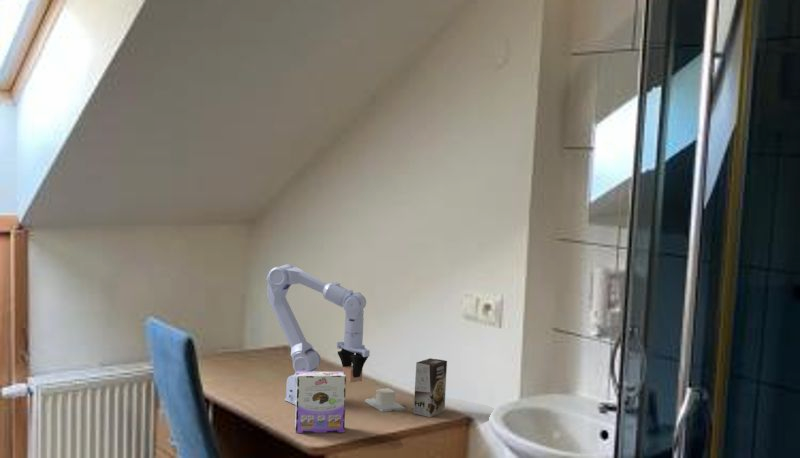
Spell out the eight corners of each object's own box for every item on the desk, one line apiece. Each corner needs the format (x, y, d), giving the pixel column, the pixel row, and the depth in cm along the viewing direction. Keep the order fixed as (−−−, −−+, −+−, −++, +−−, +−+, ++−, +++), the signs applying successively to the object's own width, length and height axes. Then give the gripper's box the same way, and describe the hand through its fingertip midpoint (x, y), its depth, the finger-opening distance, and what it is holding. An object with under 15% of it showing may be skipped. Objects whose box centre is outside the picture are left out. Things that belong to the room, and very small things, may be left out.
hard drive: (365, 398, 272) (381, 408, 261) (388, 396, 276) (405, 406, 265) (364, 403, 272) (381, 414, 261) (387, 401, 276) (405, 411, 265)
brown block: (350, 382, 262) (350, 369, 262) (341, 379, 266) (342, 366, 265) (362, 380, 265) (362, 368, 265) (353, 377, 269) (353, 365, 268)
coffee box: (430, 417, 257) (433, 365, 256) (412, 413, 261) (415, 362, 260) (445, 411, 265) (448, 360, 264) (427, 407, 268) (430, 357, 267)
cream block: (381, 405, 265) (382, 393, 265) (375, 401, 269) (376, 389, 269) (394, 404, 267) (395, 391, 267) (388, 400, 271) (388, 388, 271)
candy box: (342, 426, 244) (344, 370, 243) (344, 433, 238) (346, 375, 237) (294, 427, 242) (296, 370, 241) (295, 433, 236) (297, 375, 235)
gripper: (378, 335, 261) (376, 378, 262) (350, 327, 272) (348, 368, 273) (359, 337, 257) (357, 381, 258) (332, 329, 268) (330, 371, 269)
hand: (351, 375), depth 265 cm, fingers closed on brown block, 4 cm apart
